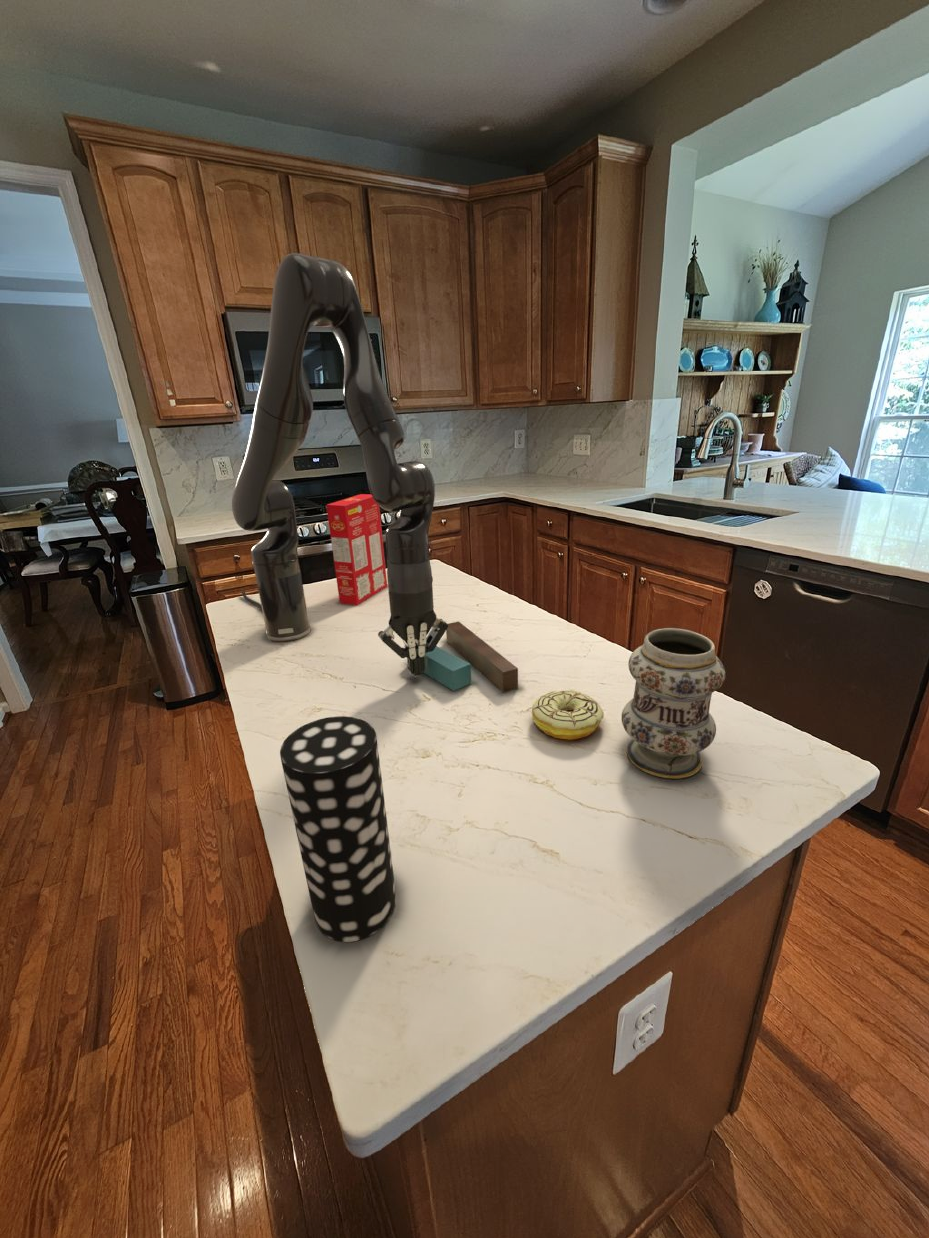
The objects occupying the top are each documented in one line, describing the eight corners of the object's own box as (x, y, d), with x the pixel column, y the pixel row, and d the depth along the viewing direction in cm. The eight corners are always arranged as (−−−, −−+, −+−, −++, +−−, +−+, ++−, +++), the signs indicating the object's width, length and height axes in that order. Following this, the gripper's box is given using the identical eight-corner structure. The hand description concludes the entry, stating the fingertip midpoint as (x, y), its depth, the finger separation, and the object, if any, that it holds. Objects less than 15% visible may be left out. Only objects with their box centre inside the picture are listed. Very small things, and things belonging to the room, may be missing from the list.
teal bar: (409, 664, 103) (407, 645, 102) (426, 657, 105) (424, 639, 104) (453, 691, 93) (452, 671, 92) (471, 683, 95) (470, 663, 94)
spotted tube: (321, 874, 58) (291, 719, 50) (397, 866, 59) (379, 713, 51) (307, 946, 50) (269, 777, 43) (394, 937, 51) (373, 768, 43)
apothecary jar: (728, 761, 73) (750, 643, 66) (673, 798, 67) (692, 672, 60) (654, 721, 82) (667, 614, 75) (600, 751, 76) (609, 637, 69)
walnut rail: (446, 641, 112) (445, 624, 111) (459, 638, 113) (458, 621, 112) (503, 692, 92) (503, 672, 90) (518, 688, 93) (518, 668, 92)
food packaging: (371, 584, 148) (360, 494, 139) (387, 586, 146) (378, 494, 137) (339, 602, 136) (326, 504, 126) (357, 605, 134) (344, 505, 124)
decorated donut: (614, 720, 83) (616, 700, 82) (577, 753, 76) (579, 731, 74) (557, 698, 90) (558, 678, 88) (519, 726, 82) (519, 705, 81)
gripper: (437, 572, 96) (441, 657, 103) (366, 584, 91) (375, 673, 98) (454, 584, 90) (458, 674, 96) (379, 597, 85) (388, 692, 91)
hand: (416, 673), depth 97 cm, fingers closed
